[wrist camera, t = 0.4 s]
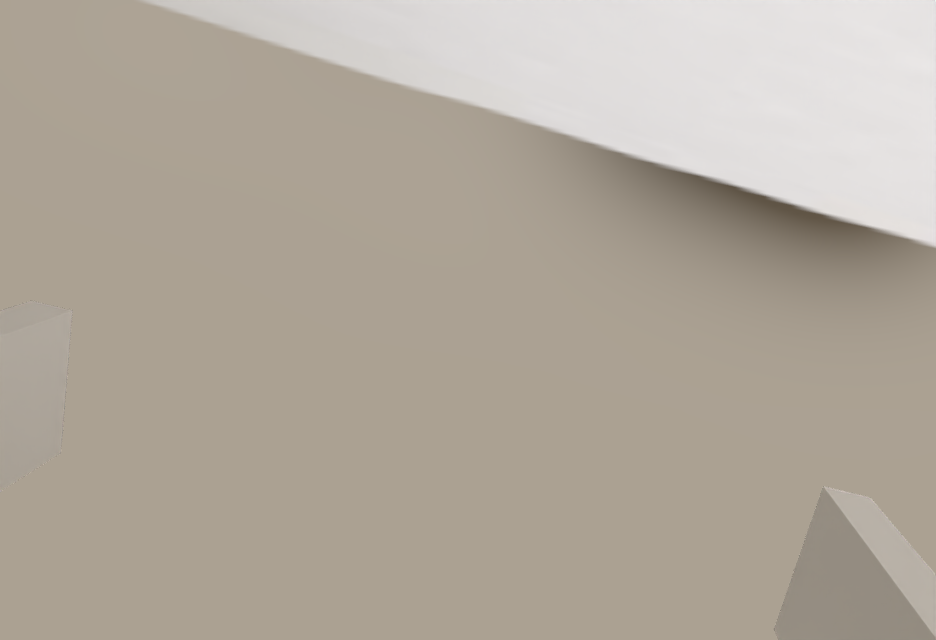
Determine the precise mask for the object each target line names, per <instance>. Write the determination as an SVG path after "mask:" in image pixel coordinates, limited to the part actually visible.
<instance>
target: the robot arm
mask: <svg viewBox="0 0 936 640" xmlns="http://www.w3.org/2000/svg"><path fill="white" fill-rule="evenodd" d="M71 323H72V310H69V309H65V308H60V307H56V306H52V305H48V304H44V303H39V302H34V301H29V302H26V303H23V304H19V305H16V306H13V307H10V308H7V309H4V310H0V491H2V490H4V489H5V488H7V487H8V486H10V485H11V484H13V483H14V482H16V481H18V480H19V479H21V478H22V477H24V476H26V475H27V474H29V473H30V472H32V471H34V470H35V469H37V468H38V467H40V466H41V465H43V464H45V463H46V462H48V461H49V460H51V459H52V458H54V457H56V456H57V455H59V454H60V453H61V446H62V433H63V421H64V409H65V397H66V383H67V371H68V360H69V347H70V336H71V335H70V334H71ZM774 631H775V633H776V635H777V638H778V640H936V574H935V573H934V572H933V571H932V570H931V569H930V567H929V566H928V565H927V564H926V563H925V562H924V560H923V559H922V558H921V557H920V556H919V554H918V553H917V552H916V551H915V550H914V549H913V547H912V546H911V545H910V544H909V543H908V541H907V540H906V539H905V538H904V537H903V536H902V534H901V533H900V532H899V531H898V530H897V528H896V527H895V526H894V525H893V524H892V523H891V522H890V520H889V519H888V518H887V517H886V515H885V514H884V513H883V512H882V511H881V510H880V508H879V507H878V506H877V505H876V504H875V502H874V501H873V500H872V499H871V498H870V497H867V496H863V495H858V494H854V493H850V492H846V491H841V490H837V489H833V488H829V487H824V486H823V488H822V491H821V494H820V497H819V500H818V503H817V506H816V509H815V512H814V515H813V517H812V520H811V523H810V526H809V529H808V532H807V535H806V538H805V541H804V544H803V547H802V549H801V552H800V555H799V558H798V561H797V564H796V567H795V570H794V573H793V576H792V578H791V582H790V584H789V587H788V590H787V593H786V596H785V599H784V602H783V605H782V608H781V610H780V613H779V616H778V619H777V622H776V625H775V628H774Z"/></svg>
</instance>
